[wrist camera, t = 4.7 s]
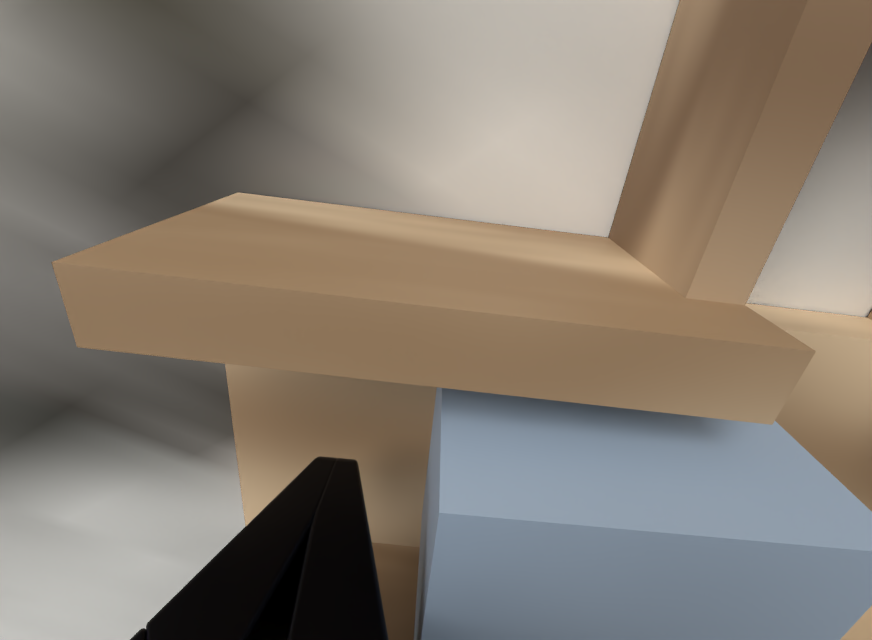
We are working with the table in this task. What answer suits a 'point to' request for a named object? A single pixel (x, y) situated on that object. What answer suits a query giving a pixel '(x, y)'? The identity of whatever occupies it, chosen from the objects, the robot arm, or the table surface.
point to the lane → (521, 291)
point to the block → (631, 528)
